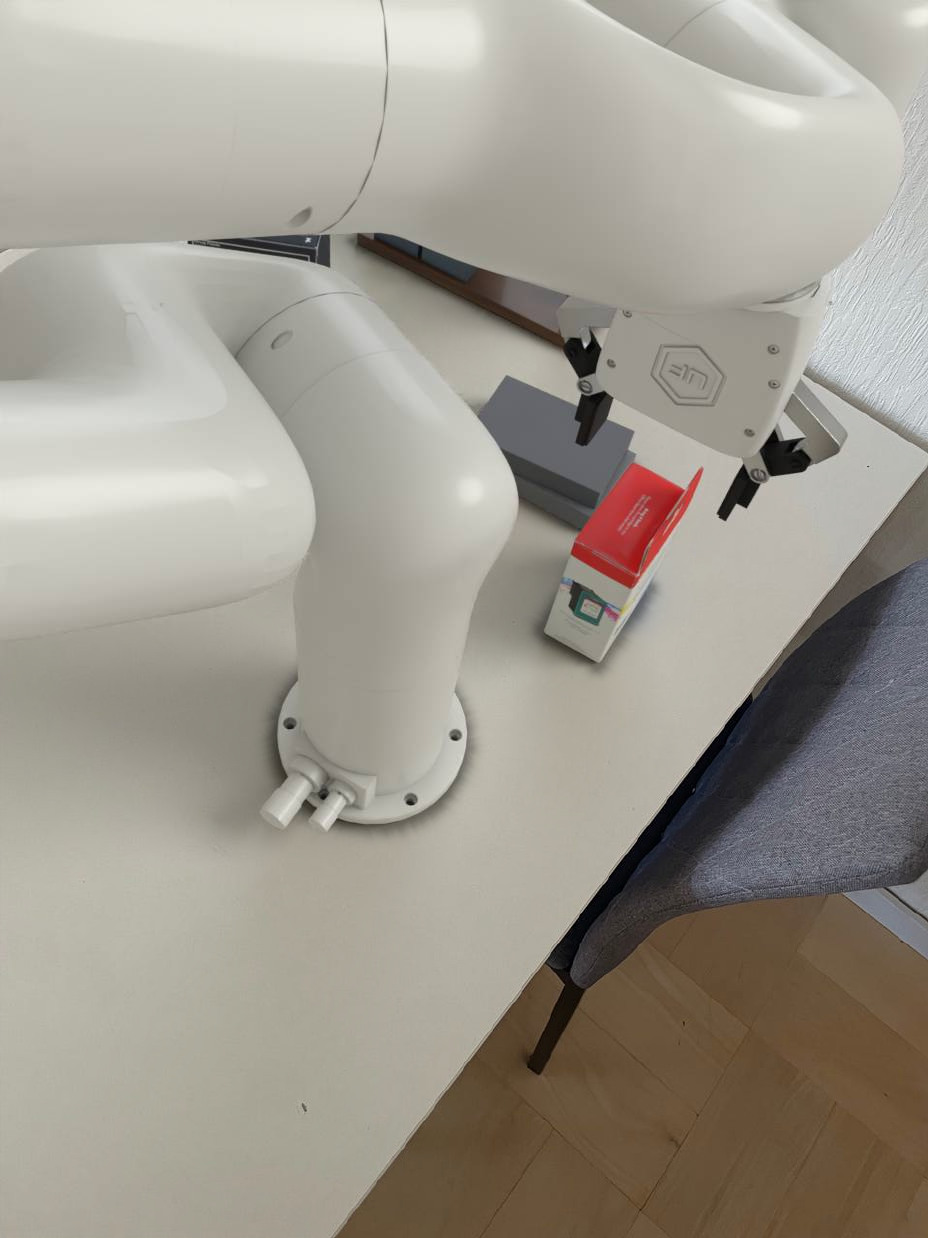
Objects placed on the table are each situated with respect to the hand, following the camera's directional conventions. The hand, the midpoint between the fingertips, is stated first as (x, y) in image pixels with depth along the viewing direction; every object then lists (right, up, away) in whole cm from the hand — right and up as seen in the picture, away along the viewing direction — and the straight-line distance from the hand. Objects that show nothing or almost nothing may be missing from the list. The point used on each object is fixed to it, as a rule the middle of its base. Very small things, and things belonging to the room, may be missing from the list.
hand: (659, 467), depth 63 cm
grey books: (-5, +3, +21) cm, 22 cm away
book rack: (-10, +24, +33) cm, 41 cm away
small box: (-29, +17, +26) cm, 43 cm away
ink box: (-2, -9, +14) cm, 17 cm away
